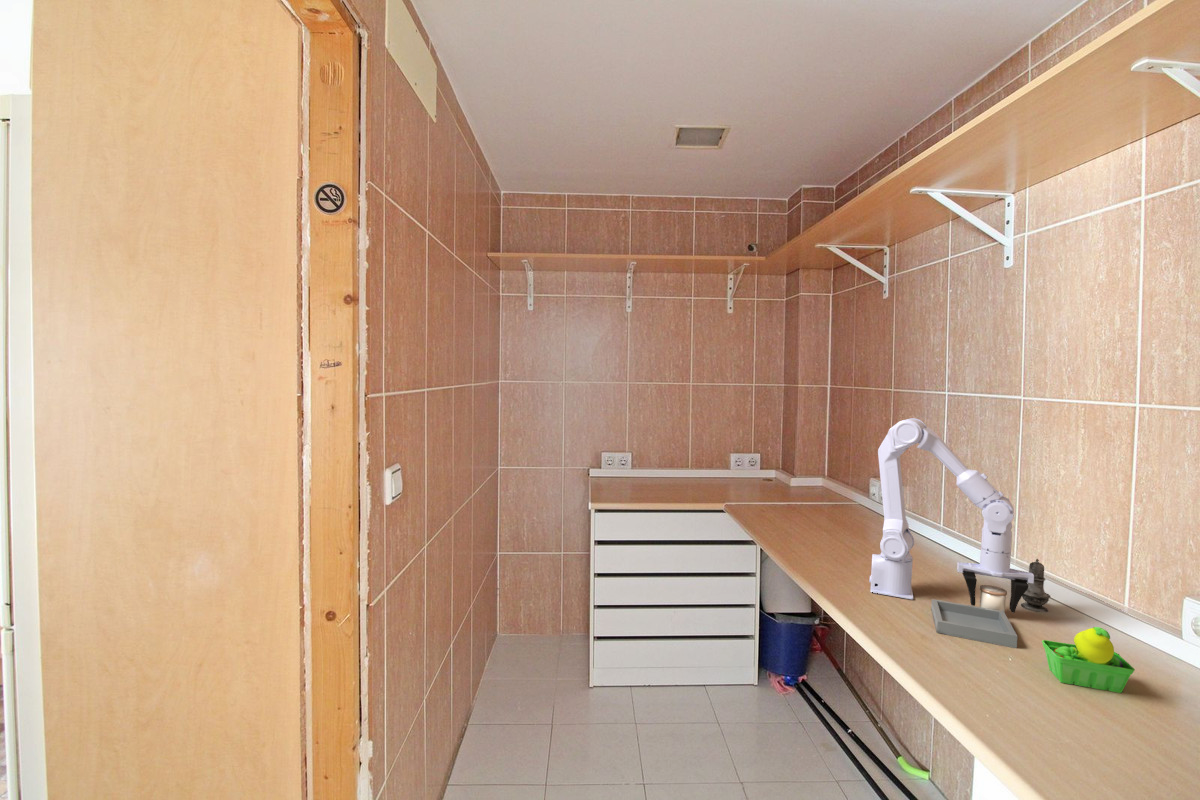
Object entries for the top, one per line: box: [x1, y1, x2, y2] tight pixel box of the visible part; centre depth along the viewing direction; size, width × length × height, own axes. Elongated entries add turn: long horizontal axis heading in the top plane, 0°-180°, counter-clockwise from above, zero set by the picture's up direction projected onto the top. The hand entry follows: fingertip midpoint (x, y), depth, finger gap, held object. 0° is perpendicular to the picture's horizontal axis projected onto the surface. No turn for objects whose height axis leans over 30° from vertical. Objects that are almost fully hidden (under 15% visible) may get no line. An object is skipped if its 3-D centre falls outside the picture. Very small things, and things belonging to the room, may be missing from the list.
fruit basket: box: [1041, 626, 1135, 694], centre depth 103 cm, size 11×9×11 cm
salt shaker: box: [1020, 558, 1051, 613], centre depth 137 cm, size 6×6×12 cm
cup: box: [979, 584, 1008, 614], centre depth 133 cm, size 5×5×6 cm
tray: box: [930, 598, 1018, 649], centre depth 125 cm, size 14×14×2 cm
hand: (992, 607), depth 133 cm, fingers open, 7 cm apart
